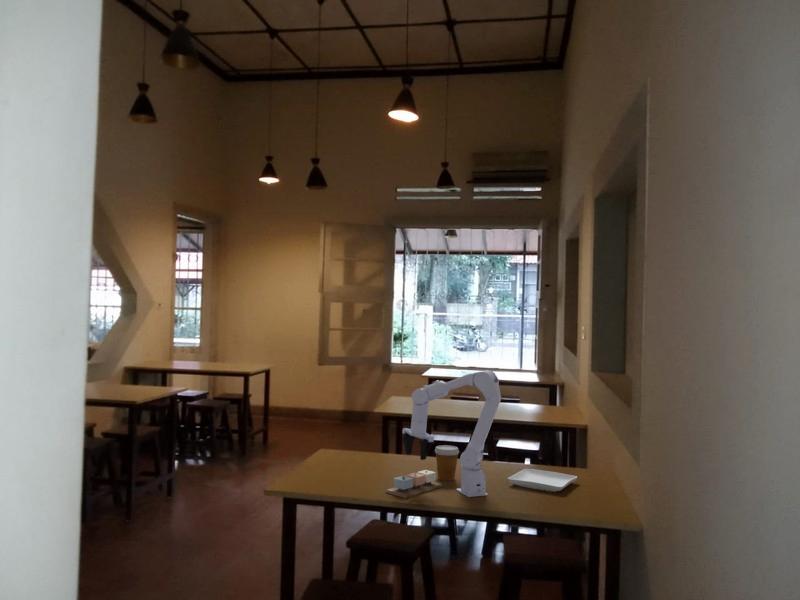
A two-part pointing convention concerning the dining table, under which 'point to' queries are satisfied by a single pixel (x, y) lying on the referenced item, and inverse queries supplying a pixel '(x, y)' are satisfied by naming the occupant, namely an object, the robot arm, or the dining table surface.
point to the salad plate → (542, 480)
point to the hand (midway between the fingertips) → (415, 456)
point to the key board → (414, 489)
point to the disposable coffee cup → (446, 461)
